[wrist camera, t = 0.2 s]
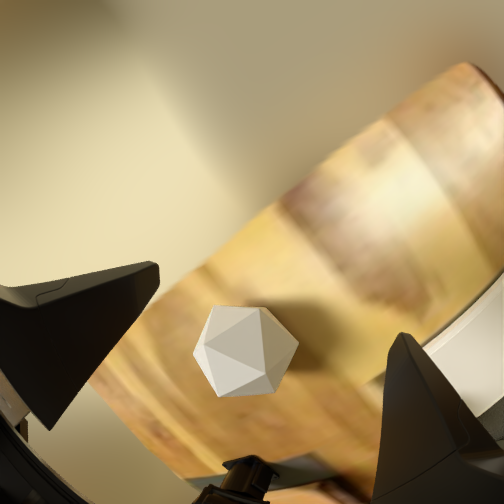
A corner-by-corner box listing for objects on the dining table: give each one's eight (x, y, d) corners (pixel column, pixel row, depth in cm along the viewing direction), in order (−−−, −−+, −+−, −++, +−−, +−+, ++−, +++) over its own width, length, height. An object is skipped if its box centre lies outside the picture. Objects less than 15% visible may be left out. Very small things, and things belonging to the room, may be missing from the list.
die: (212, 288, 28) (161, 367, 22) (265, 267, 21) (204, 377, 15) (265, 333, 30) (227, 408, 24) (325, 326, 24) (286, 424, 18)
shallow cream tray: (444, 435, 22) (445, 439, 21) (396, 366, 23) (398, 370, 22) (535, 358, 16) (538, 361, 16) (509, 266, 18) (513, 267, 17)
